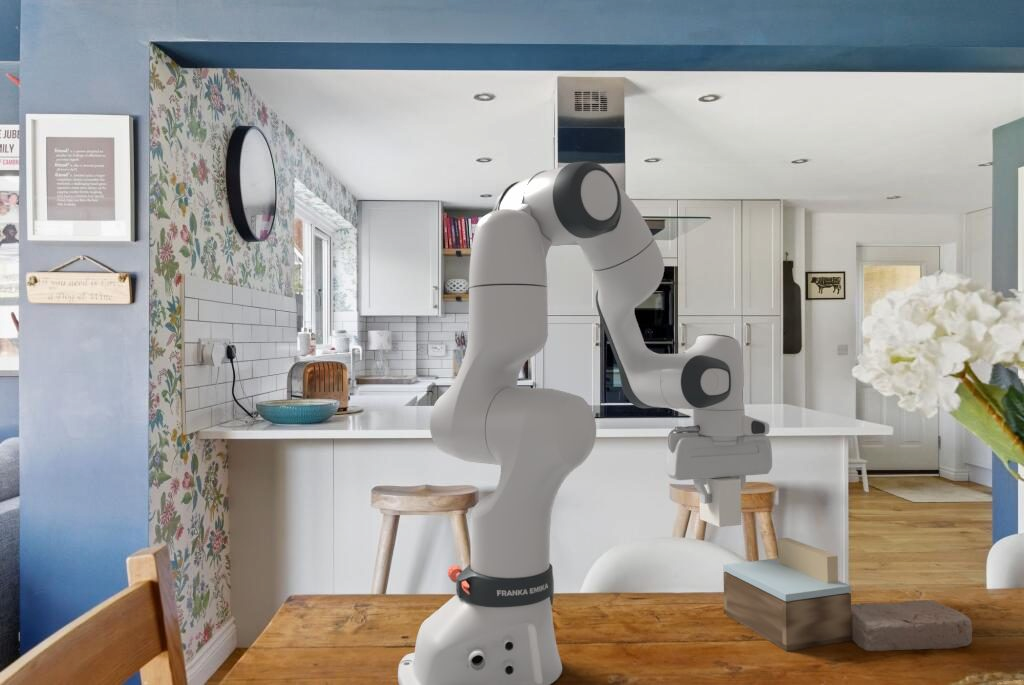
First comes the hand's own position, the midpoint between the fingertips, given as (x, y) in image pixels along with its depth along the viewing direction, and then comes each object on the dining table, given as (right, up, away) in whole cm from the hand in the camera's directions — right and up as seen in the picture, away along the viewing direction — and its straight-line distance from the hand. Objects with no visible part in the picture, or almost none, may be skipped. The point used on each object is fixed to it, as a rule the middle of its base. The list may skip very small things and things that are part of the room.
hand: (719, 501), depth 119 cm
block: (0, -4, 0) cm, 4 cm away
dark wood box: (+6, -17, -13) cm, 22 cm away
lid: (+6, -10, -13) cm, 17 cm away
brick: (+22, -17, -18) cm, 33 cm away
